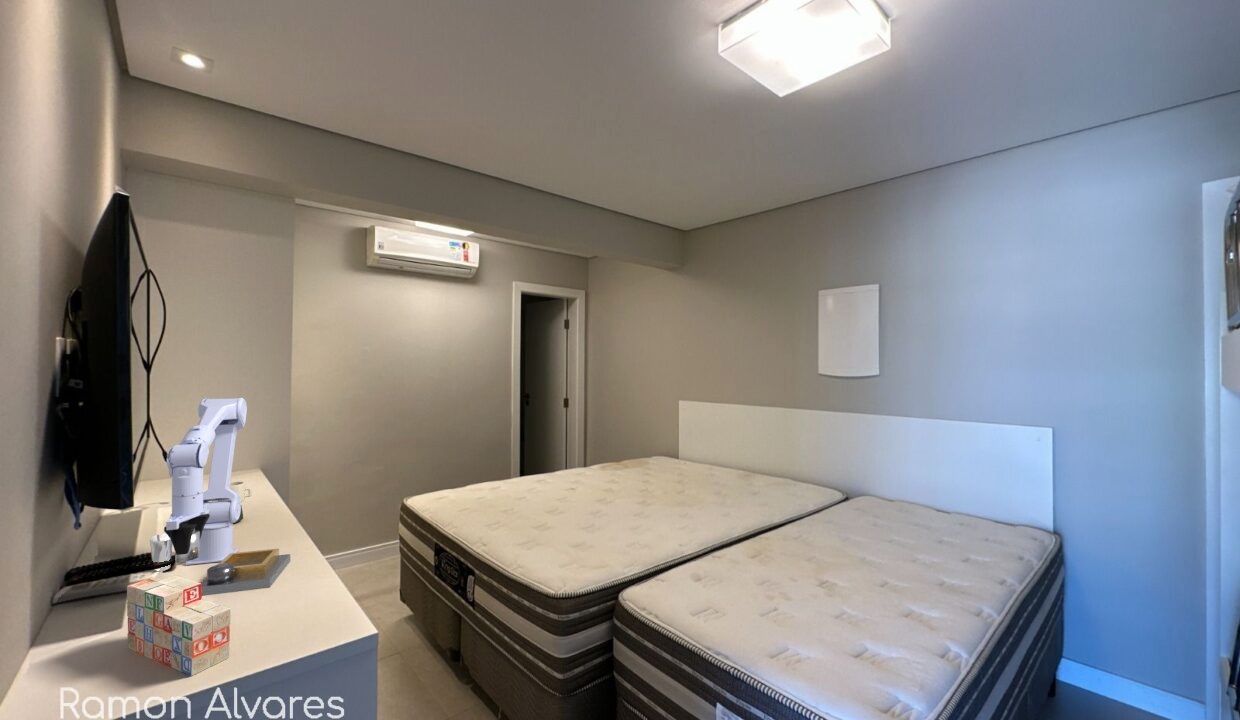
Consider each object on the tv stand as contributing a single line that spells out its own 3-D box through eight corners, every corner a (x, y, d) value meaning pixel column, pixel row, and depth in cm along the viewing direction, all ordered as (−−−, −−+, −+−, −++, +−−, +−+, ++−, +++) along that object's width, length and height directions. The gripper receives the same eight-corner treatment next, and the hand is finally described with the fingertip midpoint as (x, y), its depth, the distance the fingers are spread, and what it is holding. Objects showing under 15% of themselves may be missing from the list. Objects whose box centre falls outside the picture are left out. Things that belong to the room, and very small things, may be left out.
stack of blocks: (231, 657, 92) (231, 591, 92) (190, 677, 86) (191, 607, 86) (166, 632, 100) (166, 571, 100) (126, 648, 95) (126, 584, 94)
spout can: (171, 562, 117) (171, 533, 117) (181, 555, 121) (181, 527, 121) (194, 560, 118) (194, 531, 118) (202, 553, 122) (203, 525, 122)
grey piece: (199, 595, 115) (199, 574, 115) (228, 568, 130) (228, 549, 130) (270, 587, 120) (270, 566, 120) (290, 561, 135) (290, 543, 135)
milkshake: (145, 575, 125) (145, 536, 125) (153, 567, 130) (153, 529, 130) (169, 572, 128) (169, 533, 127) (176, 564, 132) (176, 526, 132)
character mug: (252, 516, 171) (252, 479, 171) (251, 522, 166) (251, 483, 166) (211, 522, 165) (211, 483, 165) (209, 528, 159) (209, 488, 159)
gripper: (193, 500, 114) (192, 559, 114) (221, 485, 128) (221, 537, 128) (154, 503, 112) (154, 563, 112) (187, 487, 125) (187, 540, 125)
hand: (187, 550), depth 120 cm, fingers closed on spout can, 4 cm apart
